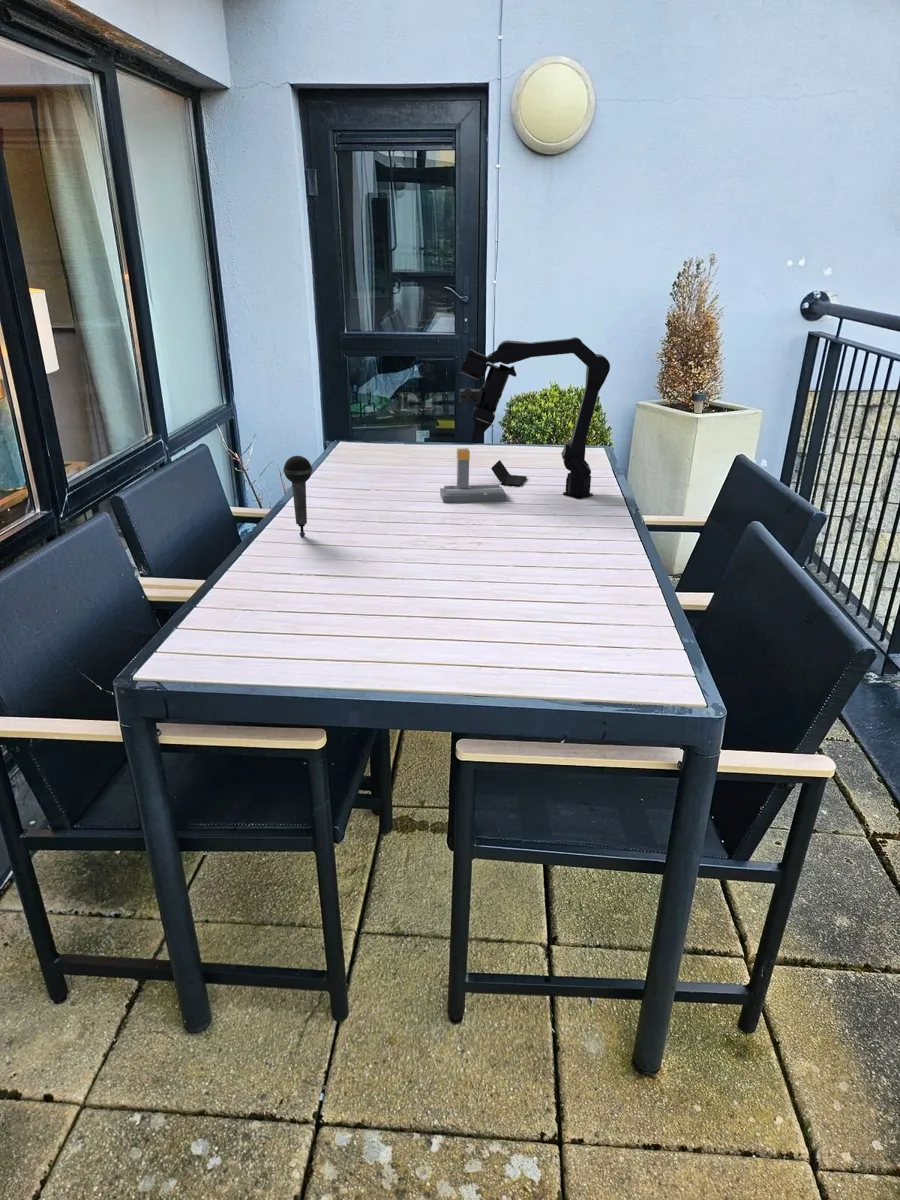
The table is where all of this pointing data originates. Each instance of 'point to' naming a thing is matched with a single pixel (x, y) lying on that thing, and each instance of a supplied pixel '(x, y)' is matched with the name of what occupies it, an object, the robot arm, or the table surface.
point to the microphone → (299, 486)
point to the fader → (463, 469)
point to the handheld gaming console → (507, 476)
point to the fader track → (473, 493)
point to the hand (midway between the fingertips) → (473, 438)
